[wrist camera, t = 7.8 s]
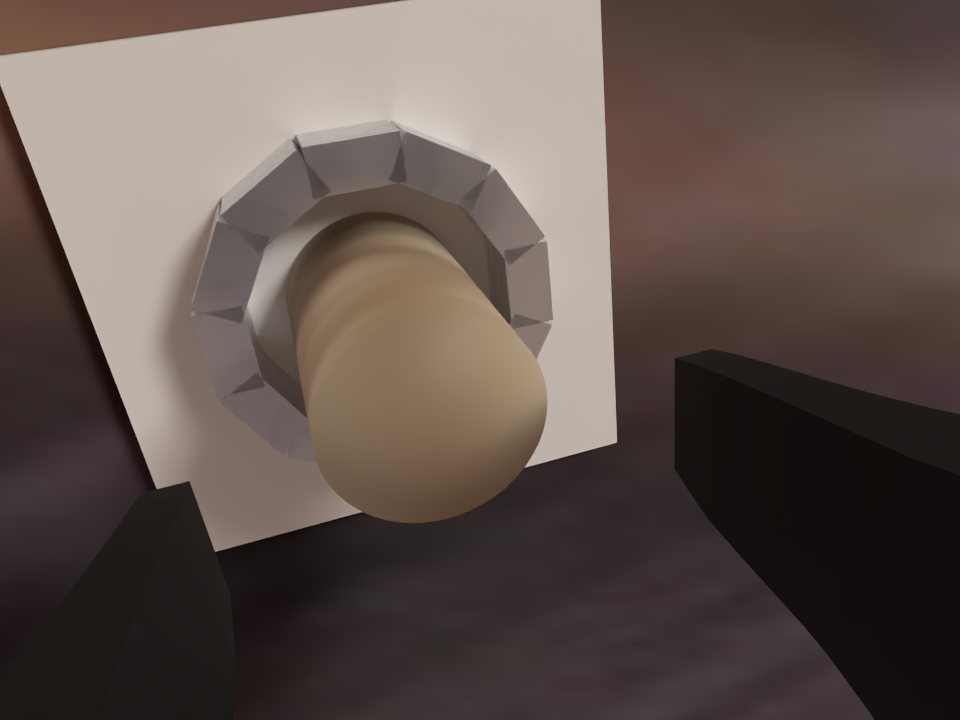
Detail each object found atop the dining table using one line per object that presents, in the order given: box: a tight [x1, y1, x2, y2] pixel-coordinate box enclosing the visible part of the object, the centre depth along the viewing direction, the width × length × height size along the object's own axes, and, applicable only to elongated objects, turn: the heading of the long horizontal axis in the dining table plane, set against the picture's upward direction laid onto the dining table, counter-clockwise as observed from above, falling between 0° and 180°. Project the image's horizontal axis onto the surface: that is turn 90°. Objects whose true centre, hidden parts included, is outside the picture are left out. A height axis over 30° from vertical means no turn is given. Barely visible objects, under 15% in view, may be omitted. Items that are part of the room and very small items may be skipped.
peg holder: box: [0, 0, 617, 552], centre depth 17 cm, size 12×12×2 cm
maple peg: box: [287, 212, 547, 523], centre depth 15 cm, size 4×4×6 cm
